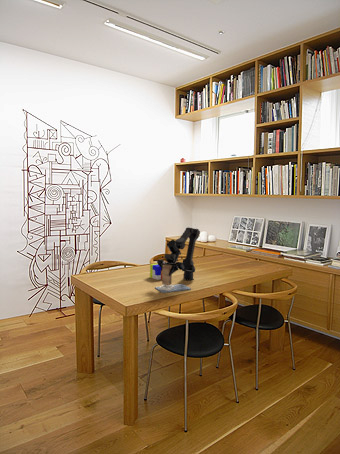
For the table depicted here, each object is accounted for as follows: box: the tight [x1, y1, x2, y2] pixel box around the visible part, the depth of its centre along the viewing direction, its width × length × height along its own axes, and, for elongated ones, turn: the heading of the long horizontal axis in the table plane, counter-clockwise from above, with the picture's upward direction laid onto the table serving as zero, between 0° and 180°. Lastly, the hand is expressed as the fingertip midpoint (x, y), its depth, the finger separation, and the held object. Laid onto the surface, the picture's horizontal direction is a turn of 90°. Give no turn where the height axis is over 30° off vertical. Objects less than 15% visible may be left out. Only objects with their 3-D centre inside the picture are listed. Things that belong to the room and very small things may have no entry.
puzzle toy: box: [149, 262, 163, 281], centre depth 257 cm, size 10×10×10 cm
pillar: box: [161, 264, 173, 286], centre depth 223 cm, size 4×4×13 cm
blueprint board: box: [154, 283, 192, 294], centre depth 227 cm, size 21×12×2 cm, turn 117°
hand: (166, 275), depth 222 cm, fingers closed on pillar, 4 cm apart
